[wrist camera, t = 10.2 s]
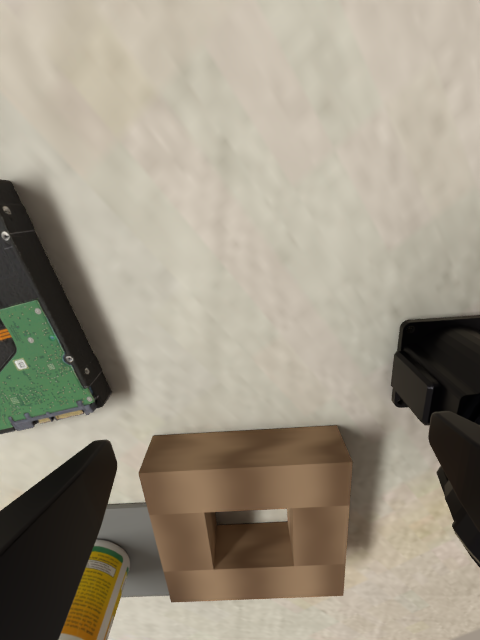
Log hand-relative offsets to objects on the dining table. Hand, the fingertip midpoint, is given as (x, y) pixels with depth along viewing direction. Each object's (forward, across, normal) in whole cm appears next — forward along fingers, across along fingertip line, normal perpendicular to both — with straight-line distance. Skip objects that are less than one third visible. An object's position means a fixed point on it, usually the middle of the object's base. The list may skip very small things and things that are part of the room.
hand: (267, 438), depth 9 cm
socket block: (+12, +2, +17) cm, 21 cm away
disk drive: (+13, +17, -1) cm, 21 cm away
